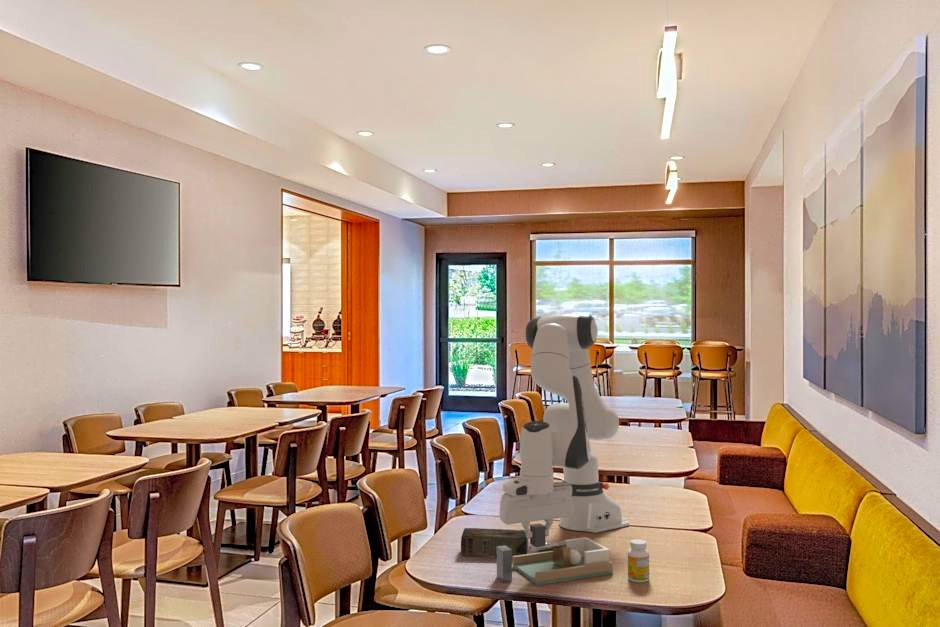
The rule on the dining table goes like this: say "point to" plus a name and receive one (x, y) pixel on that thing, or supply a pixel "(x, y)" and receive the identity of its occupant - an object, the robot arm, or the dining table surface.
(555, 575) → the foosball board
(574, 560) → the ball
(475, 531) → the olive storage box
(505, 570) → the grey tall block
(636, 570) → the supplement bottle
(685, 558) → the dining table surface
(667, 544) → the dining table surface
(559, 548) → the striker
